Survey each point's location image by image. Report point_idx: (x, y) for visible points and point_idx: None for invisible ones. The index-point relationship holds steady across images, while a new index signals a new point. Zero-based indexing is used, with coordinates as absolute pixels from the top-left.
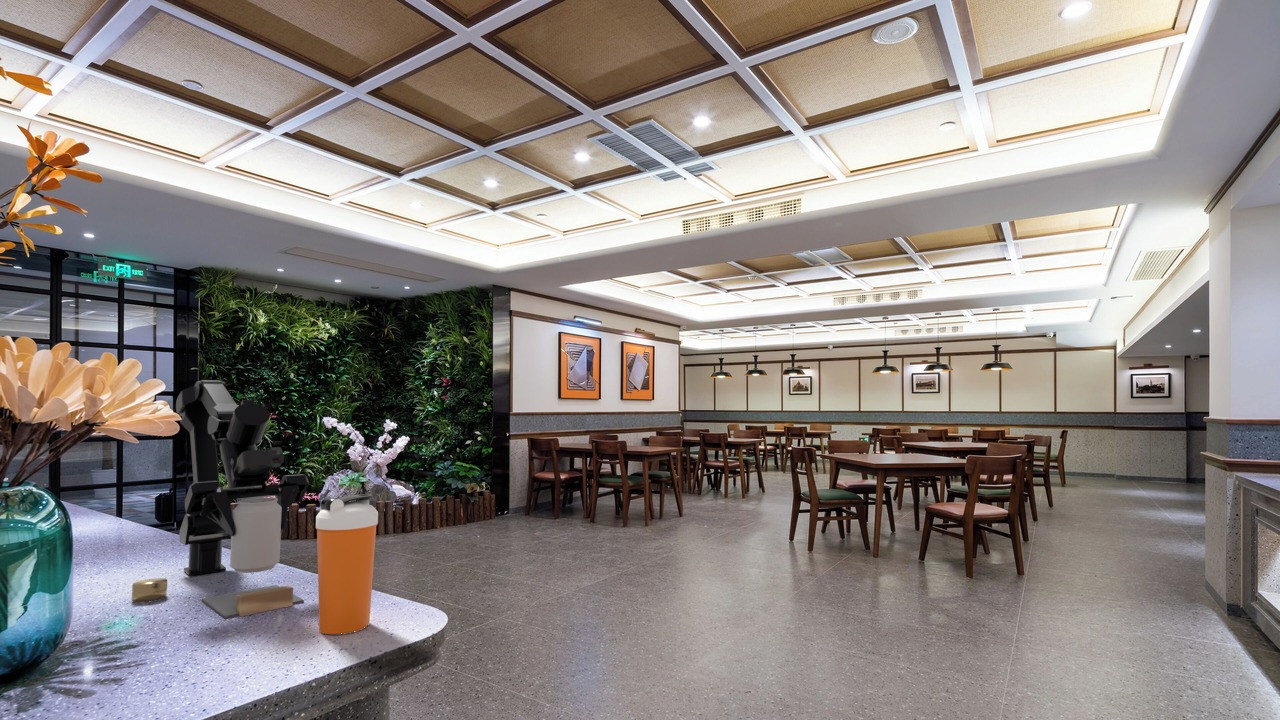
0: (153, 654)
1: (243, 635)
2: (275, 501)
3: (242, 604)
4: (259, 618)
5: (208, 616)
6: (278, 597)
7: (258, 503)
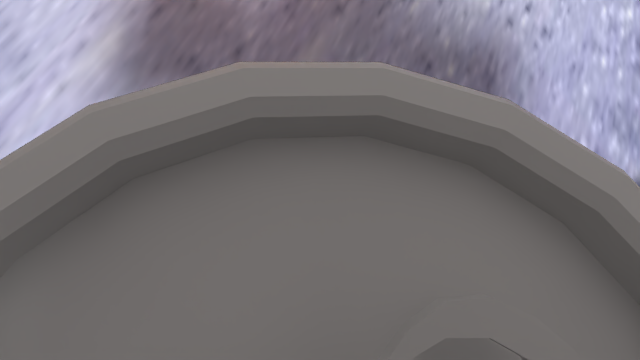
0: (619, 85)
1: (432, 30)
2: (55, 148)
3: None
4: None
5: None
6: None
7: (512, 104)
